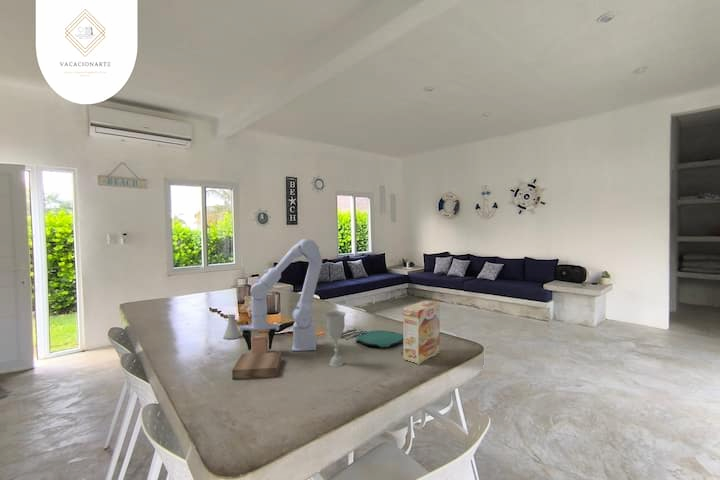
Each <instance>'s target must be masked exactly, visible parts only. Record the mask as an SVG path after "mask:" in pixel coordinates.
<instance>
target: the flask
mask: <svg viewBox="0 0 720 480" xmlns="http://www.w3.org/2000/svg"><path fill="white" fill-rule="evenodd" d="M227 318H228V320H227V326H226V329H225V332H224V335H223V339H224V340H236V339H239V338H240V337H241V336H242V334H241V332H240V328H239V327H238V325H237V322H236V314H234V313H232V314H231V313H230V314H228V315H227Z"/></svg>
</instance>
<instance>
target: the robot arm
mask: <svg viewBox="0 0 720 480" xmlns="http://www.w3.org/2000/svg"><path fill="white" fill-rule="evenodd" d="M303 257H304V258H305V259H306V260H307V262H308V267H307V269H306V270H307V271H306V275H305V278H304V282H303V286H302V290H301V293H300V298H299V300H298V302H297V303H296V306H295V308H294V310H293V311H292V315H291V316H292V319H293V321H294V323H293V324H292V338H293V340H292V342H293V343H292V347H291V352H302V351H316V350H317V344H318V339H317V325H314V324H312V320H313V317H312V311H313V309H312V307H313V306H312V305H313V304H312V303H313V299H314V297H315V292H316V288H317V284H318V281H319V276H320V273H321V268H322V265H323V259H322V255H321V253H320V246H318V244H317V243H316V242H315V240H313V239H311V238H301V239H299V240H298V241H297V243H296V244H294V245H293V246H292V247H291V248H290V249H289V250H288V251H287V253H286V254H285V255H284V256H283V257H282V258H281V260H280V261H279V262H278V263H277V264H276V265H275V266H274V267H269V268H267V269H265V270H264V274H262V276H261V277H260V278H259V279H256V281H255V282H256V283H254V284H253V285H251V287H250V290H249V291H250V294H251V300H250V301H251V304H250V305H251V312H250V313H251V324H247V325H245V324H244V325H240V327H239V331H240V333H242V334H241V336H242V337H243V339H244V340H245V343H246V346H247V349H248V351H252V332H257V331H258V332H261V331H265V332H266V331H268V333H267V334H268V335H267V336H268V350H272V348H273V347H272V345H273V340H274V337H275V334H276V332H277V331H279V330H280V323H268V312H267V311H268V305H267V296H268V291H271V289H272V288H273V287H274V286H275V285H276V284H277V282H279V280H280V279H282V272H284V270H286V269H287V267H288V266H289V265H290V264H291V263H292V262H293V261H294V260H295V259H298V258H303Z"/></svg>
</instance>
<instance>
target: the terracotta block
mask: <svg viewBox="0 0 720 480" xmlns="http://www.w3.org/2000/svg"><path fill="white" fill-rule="evenodd" d="M253 353H269V335H260V336H254V337H253V339H251V354H253Z"/></svg>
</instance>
